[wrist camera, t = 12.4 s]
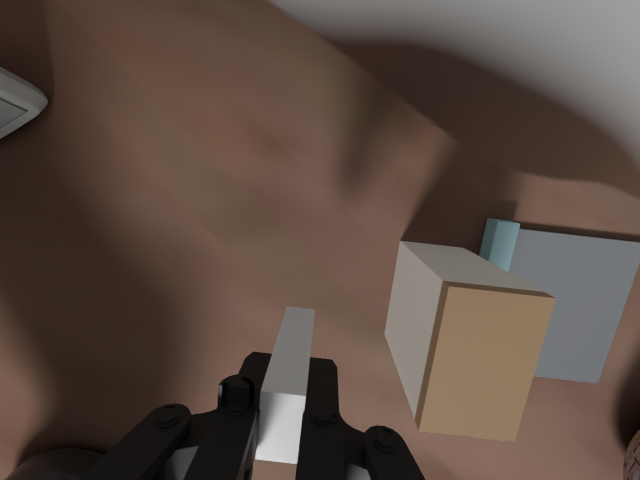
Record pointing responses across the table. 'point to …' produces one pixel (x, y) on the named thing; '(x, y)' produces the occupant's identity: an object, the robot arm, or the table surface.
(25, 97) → the digital clock
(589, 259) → the mat
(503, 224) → the strip
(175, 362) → the table surface
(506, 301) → the cream block
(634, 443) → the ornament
